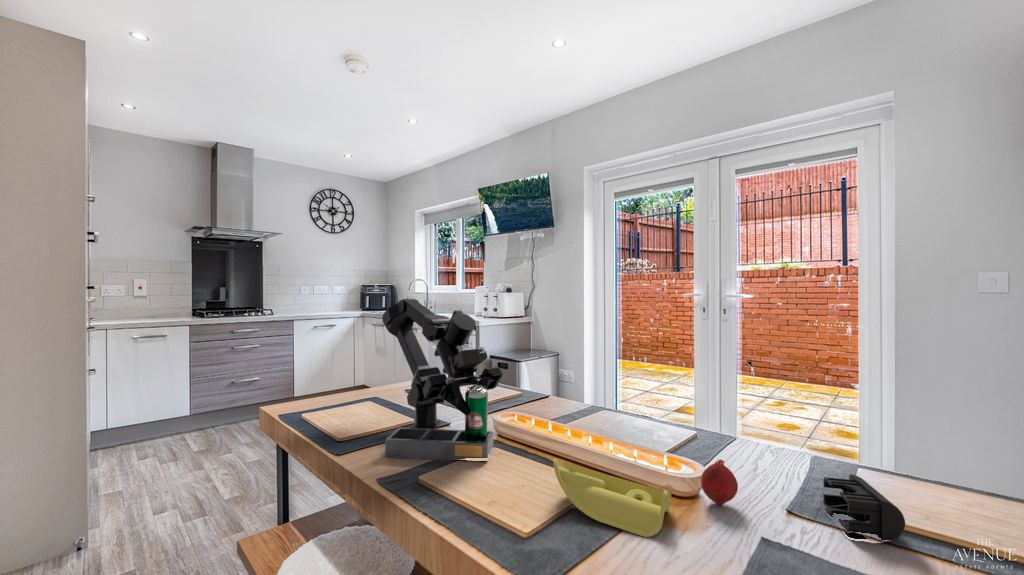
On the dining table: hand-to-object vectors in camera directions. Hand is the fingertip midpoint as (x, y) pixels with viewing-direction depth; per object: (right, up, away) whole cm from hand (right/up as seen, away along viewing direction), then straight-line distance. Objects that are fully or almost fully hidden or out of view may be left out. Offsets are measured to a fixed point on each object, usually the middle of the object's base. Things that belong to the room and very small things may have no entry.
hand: (477, 412), depth 100 cm
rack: (-9, -10, +3) cm, 13 cm away
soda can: (-1, -7, +3) cm, 7 cm away
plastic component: (+25, -11, -22) cm, 35 cm away
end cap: (+63, -11, -28) cm, 70 cm away
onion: (+44, -11, -21) cm, 50 cm away
